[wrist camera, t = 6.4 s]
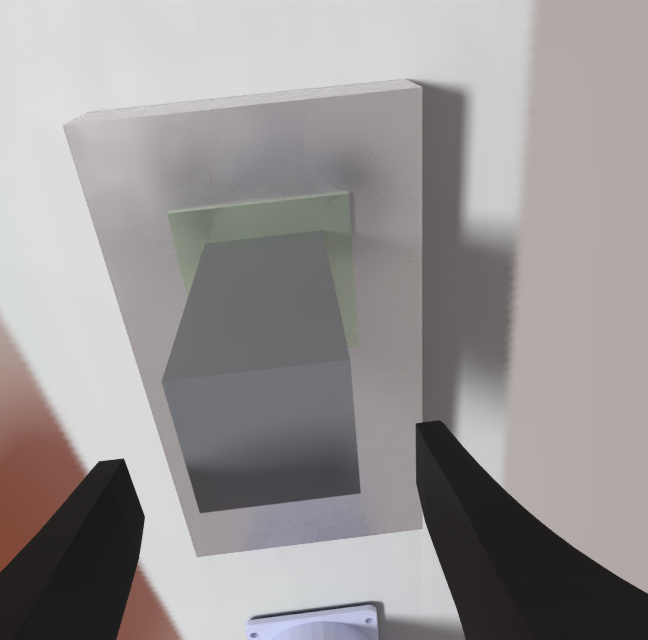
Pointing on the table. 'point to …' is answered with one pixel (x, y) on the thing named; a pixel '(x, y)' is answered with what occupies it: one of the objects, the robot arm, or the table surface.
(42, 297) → the table surface
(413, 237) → the plate
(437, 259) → the table surface
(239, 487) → the grey rectangular block
